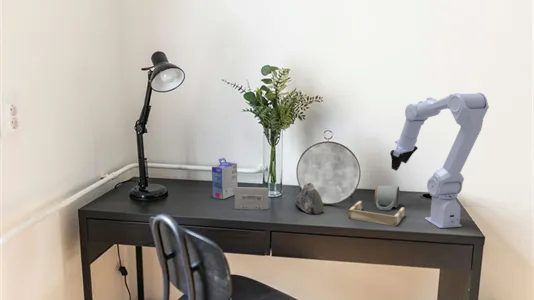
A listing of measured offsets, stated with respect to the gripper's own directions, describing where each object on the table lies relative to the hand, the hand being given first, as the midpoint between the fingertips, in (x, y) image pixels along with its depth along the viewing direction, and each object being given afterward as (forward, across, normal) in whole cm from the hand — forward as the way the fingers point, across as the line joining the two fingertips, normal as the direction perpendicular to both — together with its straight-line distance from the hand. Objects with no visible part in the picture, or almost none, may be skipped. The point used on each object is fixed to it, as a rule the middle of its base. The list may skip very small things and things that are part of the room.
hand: (399, 165), depth 186 cm
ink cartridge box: (+23, +42, -47) cm, 67 cm away
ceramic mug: (+11, +12, +5) cm, 17 cm away
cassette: (+16, +47, -30) cm, 58 cm away
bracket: (+7, +25, +7) cm, 27 cm away
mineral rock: (+13, +33, -15) cm, 39 cm away
